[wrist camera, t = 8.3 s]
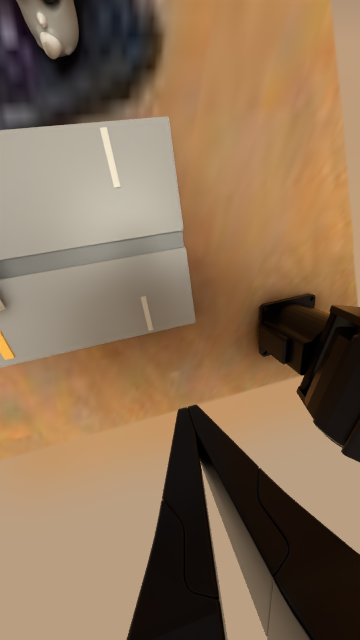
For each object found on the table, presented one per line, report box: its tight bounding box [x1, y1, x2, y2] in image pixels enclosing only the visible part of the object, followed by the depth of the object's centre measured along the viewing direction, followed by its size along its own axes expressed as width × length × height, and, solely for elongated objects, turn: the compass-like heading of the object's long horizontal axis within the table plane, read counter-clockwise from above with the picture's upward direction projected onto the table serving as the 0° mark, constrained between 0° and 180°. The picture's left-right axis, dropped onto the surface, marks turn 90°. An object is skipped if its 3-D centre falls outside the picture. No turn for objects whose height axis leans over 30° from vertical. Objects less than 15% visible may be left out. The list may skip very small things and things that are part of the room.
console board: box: [0, 116, 196, 368], centre depth 15 cm, size 20×14×3 cm
